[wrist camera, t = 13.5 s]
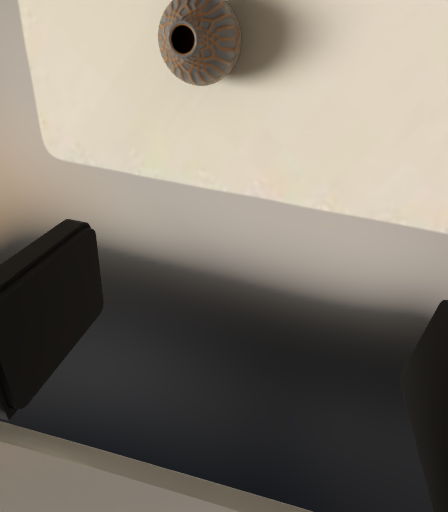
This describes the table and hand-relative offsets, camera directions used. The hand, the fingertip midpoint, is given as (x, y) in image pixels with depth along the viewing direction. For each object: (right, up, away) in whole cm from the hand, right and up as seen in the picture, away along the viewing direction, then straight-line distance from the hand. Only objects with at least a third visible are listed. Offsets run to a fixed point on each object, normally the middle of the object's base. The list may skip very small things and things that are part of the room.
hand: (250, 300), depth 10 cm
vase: (-2, +22, +23) cm, 32 cm away
